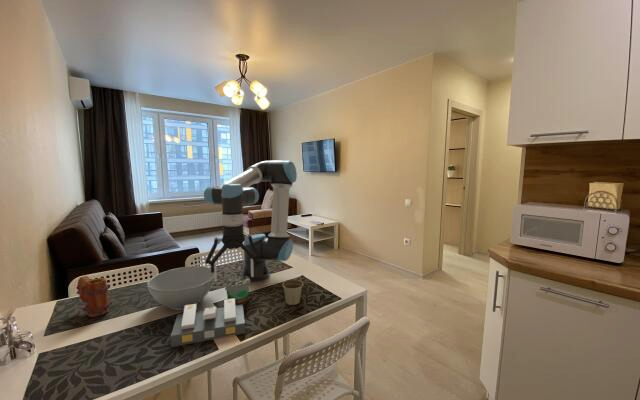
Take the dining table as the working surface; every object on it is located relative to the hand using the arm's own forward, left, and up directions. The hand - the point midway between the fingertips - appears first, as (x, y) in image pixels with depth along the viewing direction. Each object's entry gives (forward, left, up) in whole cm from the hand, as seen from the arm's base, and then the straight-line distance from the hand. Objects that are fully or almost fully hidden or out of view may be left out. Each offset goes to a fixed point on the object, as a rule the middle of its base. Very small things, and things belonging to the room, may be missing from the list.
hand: (234, 278), depth 104 cm
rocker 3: (+3, -2, -11) cm, 12 cm away
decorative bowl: (-21, -21, -18) cm, 34 cm away
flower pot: (-7, +25, -18) cm, 31 cm away
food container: (-13, +3, -18) cm, 22 cm away
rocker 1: (+3, -16, -11) cm, 20 cm away
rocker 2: (+3, -9, -11) cm, 15 cm away
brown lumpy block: (-24, -55, -18) cm, 62 cm away
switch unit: (+3, -9, -17) cm, 20 cm away
